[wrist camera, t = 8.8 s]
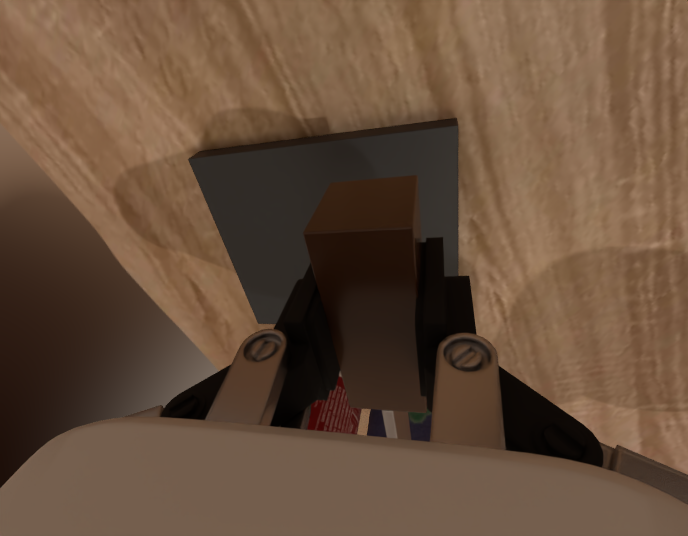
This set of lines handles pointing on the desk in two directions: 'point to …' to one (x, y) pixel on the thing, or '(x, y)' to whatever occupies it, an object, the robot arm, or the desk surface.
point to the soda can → (335, 413)
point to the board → (319, 196)
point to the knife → (372, 291)
